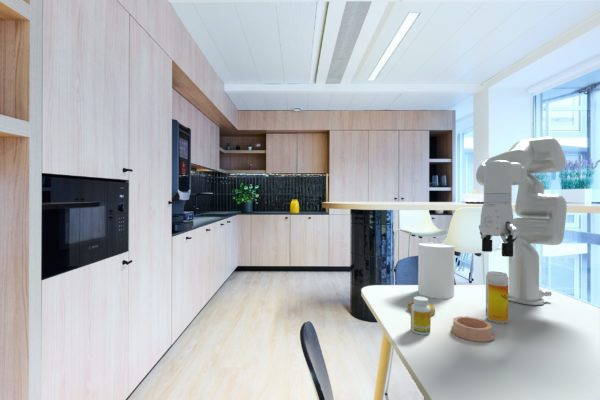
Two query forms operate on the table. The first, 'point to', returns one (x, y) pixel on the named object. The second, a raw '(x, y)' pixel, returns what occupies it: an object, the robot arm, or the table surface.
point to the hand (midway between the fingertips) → (496, 253)
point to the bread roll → (428, 305)
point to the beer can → (497, 297)
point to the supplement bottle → (420, 316)
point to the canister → (436, 270)
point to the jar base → (472, 329)
